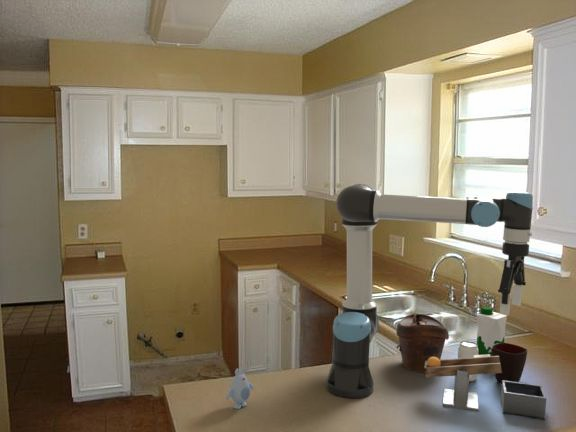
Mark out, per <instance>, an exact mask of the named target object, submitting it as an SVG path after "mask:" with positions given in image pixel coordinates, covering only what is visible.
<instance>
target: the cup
mask: <svg viewBox="0 0 576 432" xmlns="http://www.w3.org/2000/svg"><path fill="white" fill-rule="evenodd" d="M492 356H499V360H500V364H501V371H502V373H494V376H495V380H496V382H497V383H498V384H500V385H501V386H502V380H504V381H512V382H519V383H520V381H521V377H522V375H523V372H524V369H525V365H526V360H527V356H528V349H527V348H525V347H523V346H520V345H516V344H512V343H508V342H504V343H499V344H496V345H494V346H493V347H492Z"/></svg>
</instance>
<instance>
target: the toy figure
mask: <svg viewBox="0 0 576 432" xmlns="http://www.w3.org/2000/svg"><path fill="white" fill-rule="evenodd" d="M245 372H246V366H242V367H241V371H240V369H239V368H236V369H235V371H234V374H235V375H234V377H233V379H232V381H231V383H230V385H229V391H227V393H226V394H225V399H226V400H229V398H231V399H232V401H233V402H234V403H235V404H234V405H233V406H234V409H235V410H239V409H241V408H243V407H246V406H247V402H246V401H247V400H248V399H249V397H250V395H251V390H253V389H254V384H253V383H251V382H249V380H248V377H247V376H246V374H245Z"/></svg>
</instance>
